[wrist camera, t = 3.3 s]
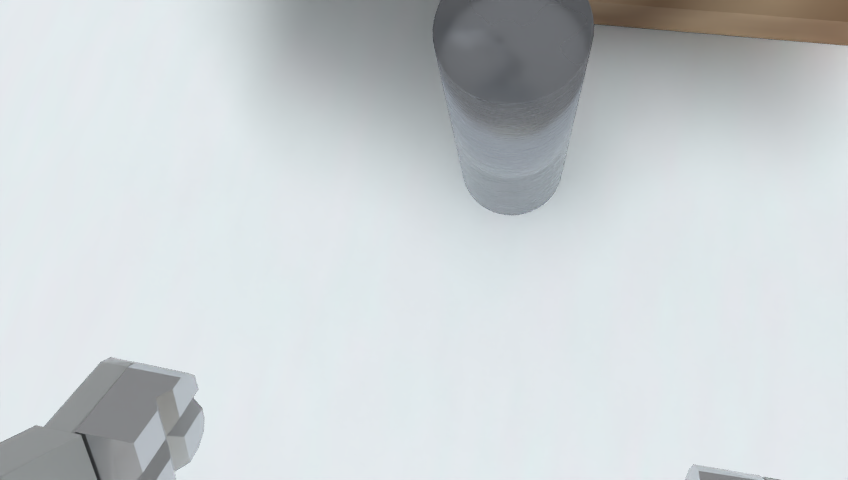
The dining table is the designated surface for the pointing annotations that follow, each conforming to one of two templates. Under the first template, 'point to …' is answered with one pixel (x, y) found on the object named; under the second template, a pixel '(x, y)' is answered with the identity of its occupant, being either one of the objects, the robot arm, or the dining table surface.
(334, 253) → the dining table surface
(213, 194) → the dining table surface
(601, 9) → the nut block
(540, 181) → the pin
